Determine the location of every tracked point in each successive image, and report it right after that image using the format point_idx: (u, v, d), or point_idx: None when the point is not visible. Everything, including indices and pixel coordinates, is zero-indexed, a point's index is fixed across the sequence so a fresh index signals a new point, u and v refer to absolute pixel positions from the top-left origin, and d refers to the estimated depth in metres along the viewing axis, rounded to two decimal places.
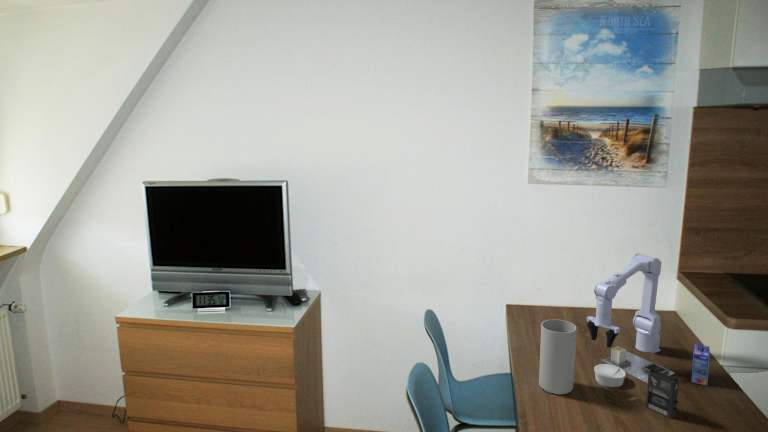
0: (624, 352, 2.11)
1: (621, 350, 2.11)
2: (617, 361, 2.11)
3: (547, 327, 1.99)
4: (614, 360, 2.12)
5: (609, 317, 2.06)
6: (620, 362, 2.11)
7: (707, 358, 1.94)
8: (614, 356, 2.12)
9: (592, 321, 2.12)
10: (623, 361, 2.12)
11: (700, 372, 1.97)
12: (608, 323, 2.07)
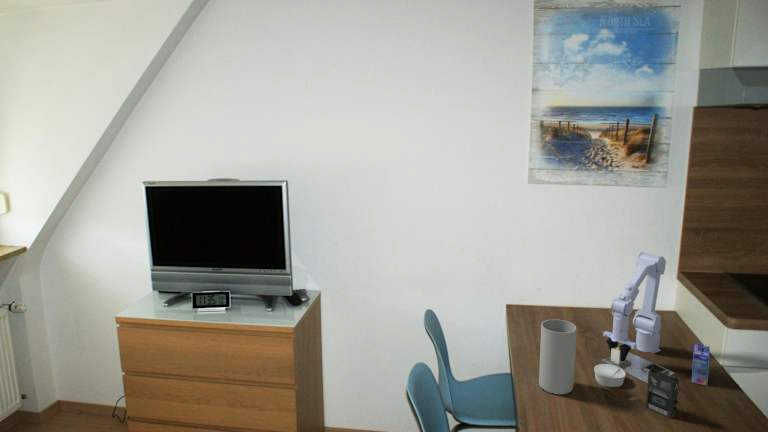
0: None
1: None
2: (617, 361, 2.11)
3: (547, 327, 1.99)
4: (614, 360, 2.12)
5: (626, 333, 2.08)
6: (620, 362, 2.11)
7: (707, 358, 1.94)
8: (614, 356, 2.12)
9: (609, 336, 2.14)
10: (623, 361, 2.12)
11: (700, 372, 1.97)
12: (625, 339, 2.09)
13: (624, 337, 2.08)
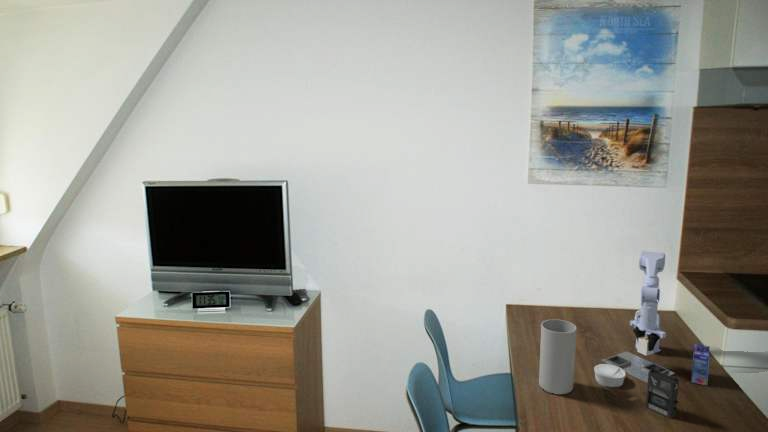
0: None
1: None
2: (644, 351, 2.04)
3: (547, 327, 1.99)
4: (641, 350, 2.06)
5: (654, 321, 2.02)
6: (647, 352, 2.04)
7: (707, 358, 1.94)
8: (641, 346, 2.06)
9: (636, 325, 2.07)
10: (651, 351, 2.05)
11: (700, 372, 1.97)
12: (653, 327, 2.02)
13: (652, 326, 2.02)
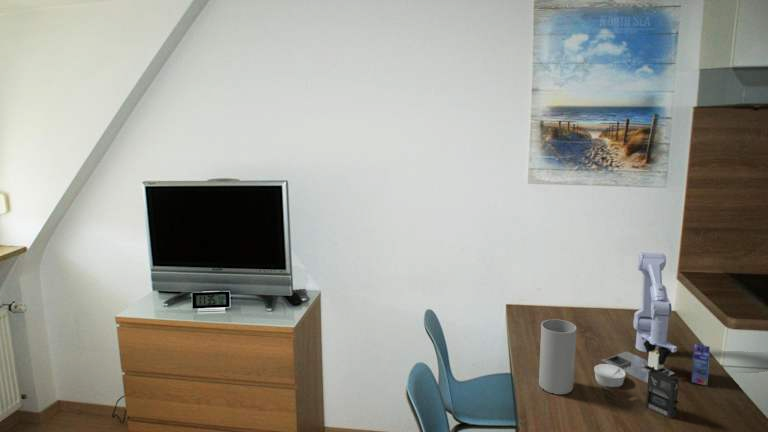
0: None
1: None
2: (655, 365, 2.03)
3: (547, 327, 1.99)
4: (652, 364, 2.05)
5: (665, 335, 2.00)
6: (658, 366, 2.03)
7: (707, 358, 1.94)
8: (652, 360, 2.04)
9: (646, 339, 2.06)
10: (661, 365, 2.04)
11: (700, 372, 1.97)
12: (664, 341, 2.01)
13: (663, 340, 2.00)
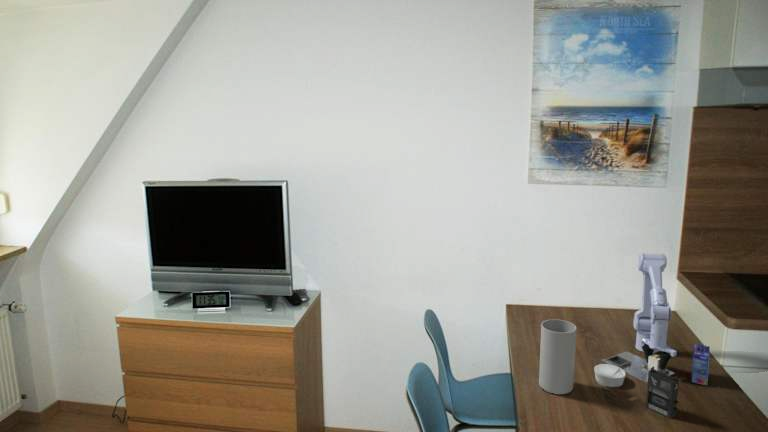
0: None
1: (659, 358, 2.04)
2: (655, 369, 2.04)
3: (547, 327, 1.99)
4: None
5: (665, 339, 2.01)
6: (658, 370, 2.04)
7: (707, 358, 1.94)
8: (651, 365, 2.05)
9: (646, 343, 2.06)
10: None
11: (700, 372, 1.97)
12: (664, 346, 2.01)
13: (663, 344, 2.01)
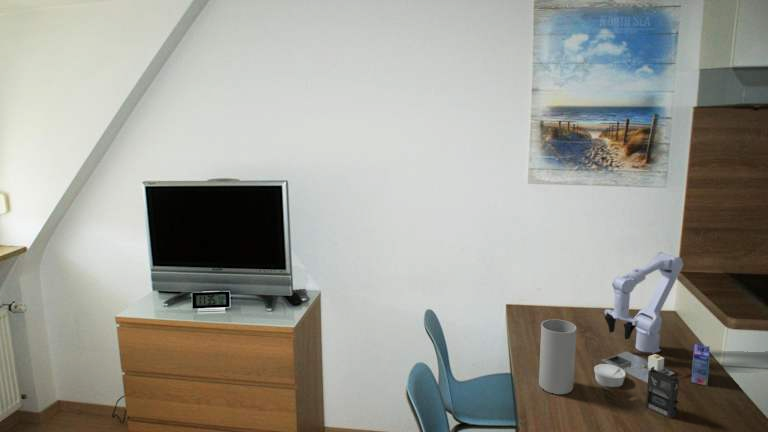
0: (662, 360, 2.04)
1: (659, 358, 2.04)
2: (655, 369, 2.04)
3: (547, 327, 1.99)
4: None
5: (627, 310, 2.14)
6: (658, 370, 2.04)
7: (707, 358, 1.94)
8: (651, 365, 2.05)
9: (610, 314, 2.19)
10: (661, 369, 2.04)
11: (700, 372, 1.97)
12: (626, 316, 2.14)
13: (625, 314, 2.14)
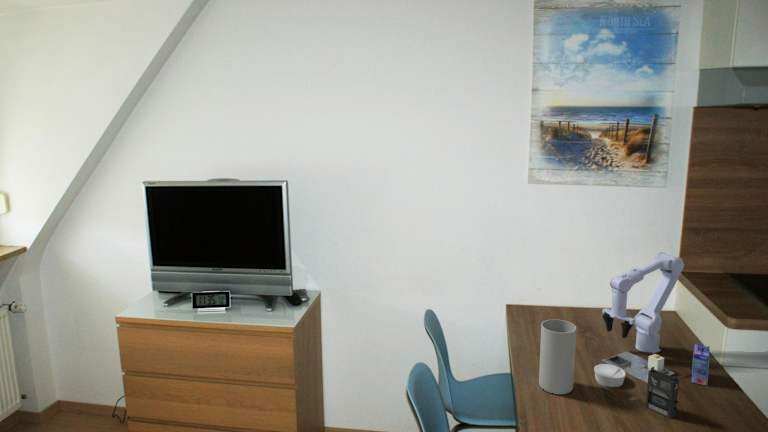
0: (662, 360, 2.04)
1: (659, 358, 2.04)
2: (655, 369, 2.04)
3: (547, 327, 1.99)
4: None
5: (624, 309, 2.15)
6: (658, 370, 2.04)
7: (707, 358, 1.94)
8: (651, 365, 2.05)
9: (608, 313, 2.20)
10: (661, 369, 2.04)
11: (700, 372, 1.97)
12: (623, 315, 2.15)
13: (622, 313, 2.15)
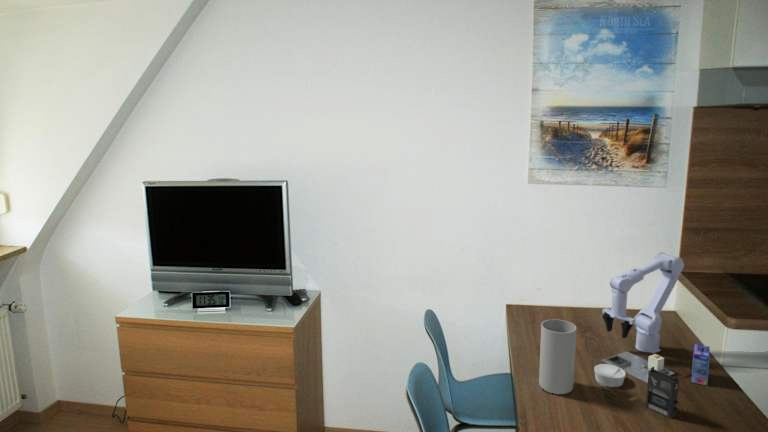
0: (662, 360, 2.04)
1: (659, 358, 2.04)
2: (655, 369, 2.04)
3: (547, 327, 1.99)
4: None
5: (624, 309, 2.15)
6: (658, 370, 2.04)
7: (707, 358, 1.94)
8: (651, 365, 2.05)
9: (608, 313, 2.20)
10: (661, 369, 2.04)
11: (700, 372, 1.97)
12: (623, 315, 2.15)
13: (622, 313, 2.15)
